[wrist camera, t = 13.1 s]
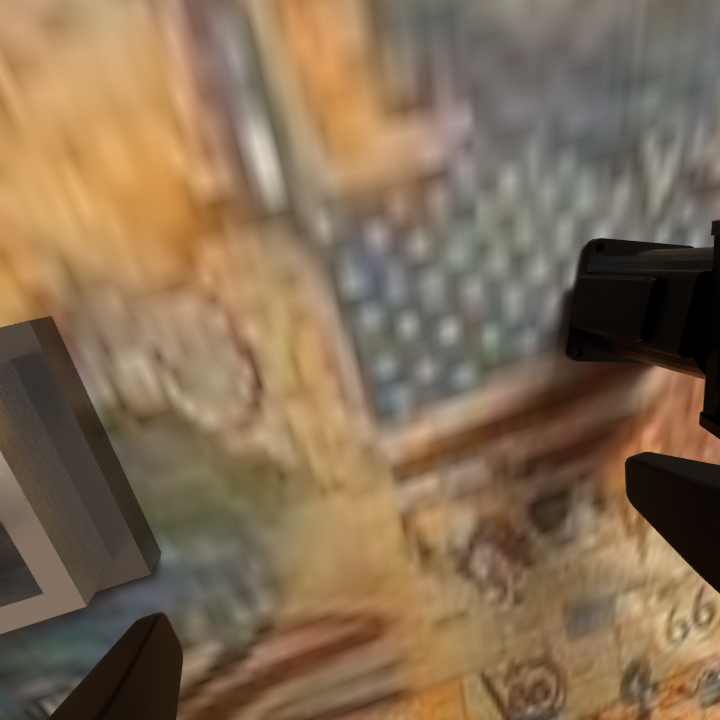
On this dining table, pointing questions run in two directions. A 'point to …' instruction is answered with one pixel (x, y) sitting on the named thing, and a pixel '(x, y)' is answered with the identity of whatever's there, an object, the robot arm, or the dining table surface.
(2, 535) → the white bottle
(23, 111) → the dining table surface
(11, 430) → the grey square tray
